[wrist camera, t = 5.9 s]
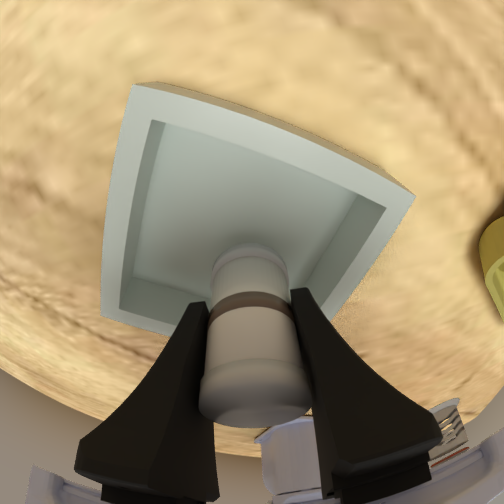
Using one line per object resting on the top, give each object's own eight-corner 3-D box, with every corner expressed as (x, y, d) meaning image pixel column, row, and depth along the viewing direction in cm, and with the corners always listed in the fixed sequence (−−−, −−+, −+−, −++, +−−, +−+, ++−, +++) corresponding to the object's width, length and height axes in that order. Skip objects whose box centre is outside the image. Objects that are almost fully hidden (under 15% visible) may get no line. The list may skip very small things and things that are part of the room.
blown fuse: (268, 308, 14) (281, 431, 9) (203, 291, 13) (188, 420, 8) (299, 256, 12) (334, 389, 7) (225, 233, 12) (215, 374, 6)
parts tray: (289, 324, 18) (295, 362, 16) (117, 278, 15) (100, 315, 13) (385, 170, 12) (416, 196, 10) (157, 81, 10) (132, 84, 7)
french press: (448, 413, 37) (478, 517, 17) (395, 434, 38) (419, 546, 18) (467, 390, 32) (505, 511, 11) (408, 416, 33) (440, 550, 12)
